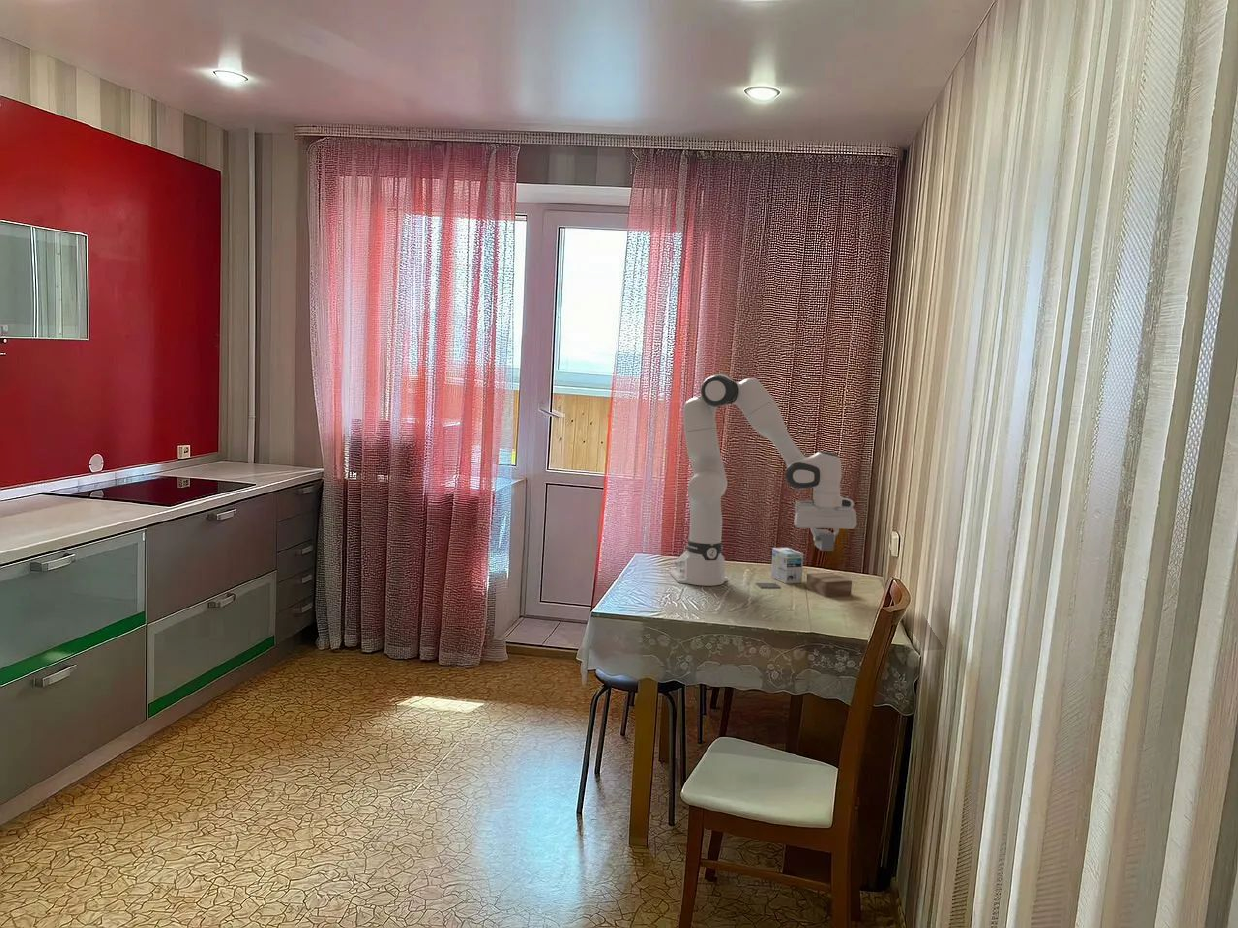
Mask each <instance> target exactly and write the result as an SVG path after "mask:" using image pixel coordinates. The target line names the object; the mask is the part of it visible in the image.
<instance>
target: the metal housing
mask: <svg viewBox="0 0 1238 928" xmlns="http://www.w3.org/2000/svg"><path fill="white" fill-rule="evenodd" d="M815 533H816V535H818V536H819V541H814V540H813V541H814V543H813V544H814V546H815V547H816V548H817V549H818V550H820V551H822V552H823V551H824V552H834V550H835V549H834V547H835V542H834V534H833V533H834V532H831V531H830V530H829V529H828V528H816V531H815Z"/></svg>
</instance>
